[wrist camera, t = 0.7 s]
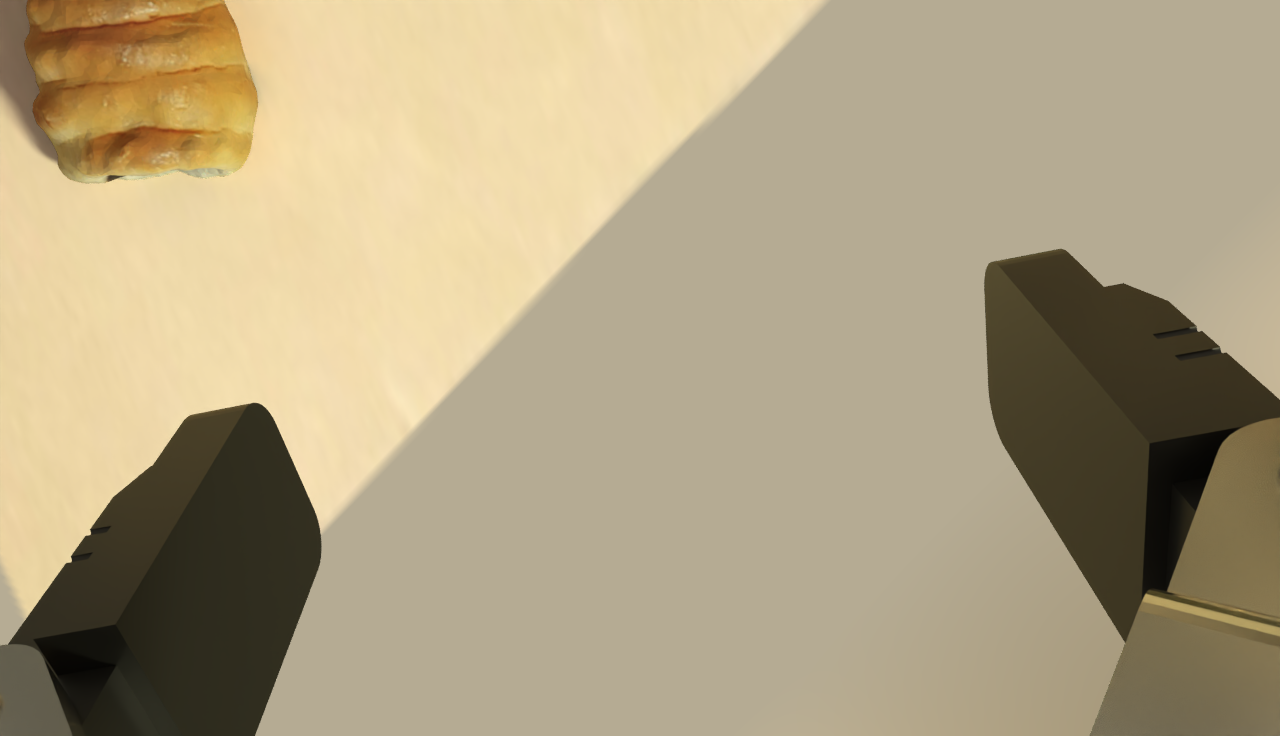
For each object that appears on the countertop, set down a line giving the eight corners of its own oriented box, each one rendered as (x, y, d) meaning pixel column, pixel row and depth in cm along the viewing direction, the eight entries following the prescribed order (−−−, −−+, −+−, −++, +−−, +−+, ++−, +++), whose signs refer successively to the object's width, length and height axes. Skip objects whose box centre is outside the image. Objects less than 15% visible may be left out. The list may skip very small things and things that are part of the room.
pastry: (10, -98, 33) (-50, -126, 29) (224, -116, 34) (191, -145, 30) (79, 192, 35) (31, 200, 32) (278, 170, 36) (254, 174, 32)
